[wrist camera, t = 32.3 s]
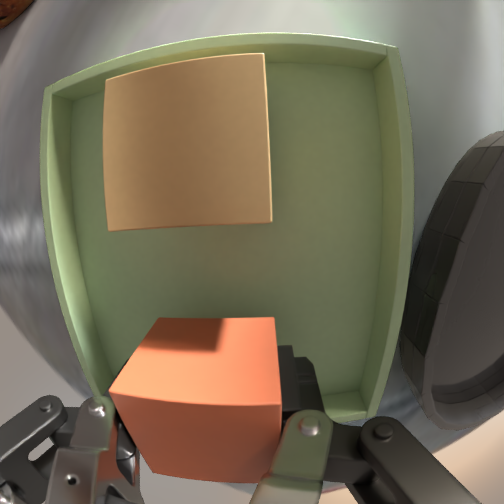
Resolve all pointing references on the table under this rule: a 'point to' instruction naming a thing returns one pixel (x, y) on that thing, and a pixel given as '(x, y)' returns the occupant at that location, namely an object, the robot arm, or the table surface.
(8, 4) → the bread roll
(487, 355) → the pan
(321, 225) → the tray
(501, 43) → the table surface
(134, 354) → the terracotta block
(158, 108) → the beech block
